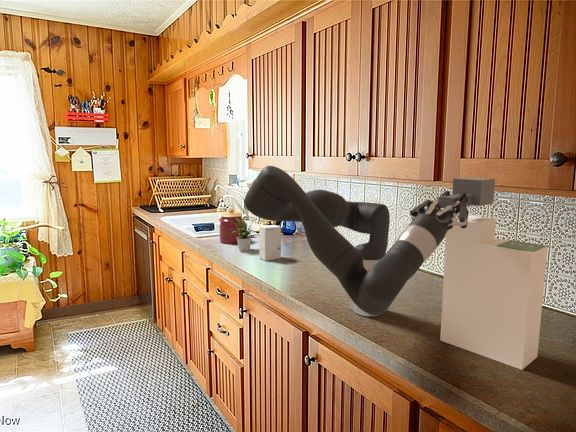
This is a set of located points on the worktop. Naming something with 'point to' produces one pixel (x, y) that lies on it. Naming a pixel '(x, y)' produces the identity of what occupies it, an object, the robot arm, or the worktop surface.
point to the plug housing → (470, 191)
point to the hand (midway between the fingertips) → (456, 194)
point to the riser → (492, 293)
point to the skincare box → (270, 242)
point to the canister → (229, 226)
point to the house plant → (243, 236)
